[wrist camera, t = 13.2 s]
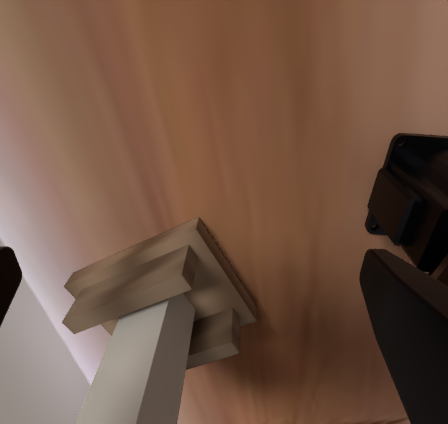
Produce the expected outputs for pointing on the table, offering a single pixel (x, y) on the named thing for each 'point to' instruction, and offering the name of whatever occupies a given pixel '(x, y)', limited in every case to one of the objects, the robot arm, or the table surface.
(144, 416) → the beige rectangular block
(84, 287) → the beige rail channel
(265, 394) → the table surface
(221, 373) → the table surface
